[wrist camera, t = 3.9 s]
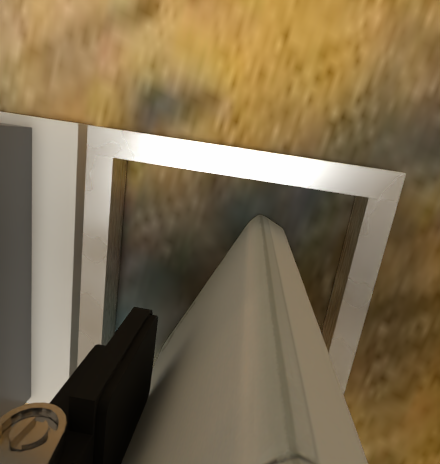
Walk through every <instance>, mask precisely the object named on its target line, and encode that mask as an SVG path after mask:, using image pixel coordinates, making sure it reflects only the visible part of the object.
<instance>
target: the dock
mask: <svg viewBox="0 0 440 464" xmlns="http://www.w3.org/2000/svg"><path fill="white" fill-rule="evenodd" d="M87 130H88V124H81V123H75V122H68V121H61V120H55V119H48V118H42V117H35V116H28V115H22V114H15V113H8V112H2V111H0V418H1V417H2V416H3V415H5V414H6V413H8V412H9V411H11V410H12V409H15V408H17V407H20V406H22V405H24V404H25V403H50V402H51V400H52V399H53V398H54V397H55V395H56V394H57V393H58V392H59V390H60V389H61V388H62V386H63V385H64V384H65V383H66V381H67V380H68V379H69V377H70V376H71V375H72V374H73V372H74V371H75V370H76V369H77V360H78V337H79V314H80V291H81V268H82V245H83V222H84V199H85V176H86V153H87Z"/></svg>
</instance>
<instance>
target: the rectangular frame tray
mask: <svg viewBox="0 0 440 464" xmlns="http://www.w3.org/2000/svg"><path fill="white" fill-rule="evenodd" d="M127 160H131V161H137V162H144V163H150V164H157V165H163V166H170V167H176V168H182V169H189V170H195V171H202V172H208V173H214V174H221V175H227V176H234V177H240V178H247V179H253V180H259V181H266V182H272V183H279V184H285V185H291V186H298V187H304V188H311V189H317V190H324V191H330V192H336V193H343V194H349V195H356V196H355V200H354V204H353V208H352V212H351V216H350V220H349V224H348V228H347V232H346V236H345V241H344V245H343V249H342V253H341V257H340V261H339V265H338V269H337V273H336V277H335V281H334V285H333V289H332V293H331V297H330V301H329V305H328V309H327V313H326V317H325V321H324V325H323V329H322V333H321V334H322V336H323V339H324V342H325V345H326V347H327V350H328V353H329V356H330V359H331V362H332V364H333V367H334V370H335V373H336V376H337V378H338V381H339V384H340V387H341V389H342V392H343V395H344V392H345V388H346V385H347V381H348V378H349V374H350V371H351V367H352V364H353V360H354V357H355V353H356V349H357V346H358V342H359V339H360V335H361V332H362V328H363V325H364V321H365V318H366V314H367V310H368V307H369V303H370V300H371V296H372V293H373V289H374V286H375V282H376V279H377V275H378V271H379V268H380V264H381V261H382V257H383V254H384V250H385V247H386V243H387V240H388V236H389V232H390V229H391V225H392V222H393V218H394V215H395V211H396V208H397V204H398V201H399V197H400V193H401V190H402V186H403V183H404V179H405V176H406V173H402V172H397V171H392V170H386V169H379V168H373V167H366V166H359V165H353V164H346V163H340V162H333V161H326V160H320V159H313V158H306V157H300V156H293V155H287V154H280V153H273V152H267V151H260V150H253V149H247V148H240V147H234V146H227V145H220V144H214V143H207V142H200V141H194V140H187V139H181V138H174V137H167V136H161V135H154V134H147V133H141V132H134V131H128V130H121V129H114V128H108V127H100V126H91V125H88V130H87V153H86V176H85V199H84V222H83V245H82V268H81V291H80V314H79V337H78V360H77V367H78V366H79V365H80V363H81V362H82V361H83V360H84V358H85V357H86V356H87V355H88V353H89V352H90V351H91V349H92V348H93V347H94V346H95V345H97V344H100V345H107V343H108V342H109V341H110V339H111V338H112V337H113V335H114V334H115V320H116V307H117V293H118V280H119V266H120V253H121V239H122V226H123V212H124V199H125V185H126V171H127Z"/></svg>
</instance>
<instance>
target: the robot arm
mask: <svg viewBox="0 0 440 464" xmlns="http://www.w3.org/2000/svg"><path fill="white" fill-rule="evenodd" d="M152 314H153V313H152V310H149V309H143V308H138V307H134V308H133V309H132V310H131V312H130V313H129V315H128V316H127V317H126V319H125V320H124V321H123V323H122V324H121V326H120V327H119V328H118V330H117V331H116V332H115V334H114V335H113V337H112V338H111V339H110V341H109V342H108V343H107V345H100V344H97V345H95V346H94V347H93V348H92V349H91V351H90V352H89V353H88V355H87V356H86V357H85V358H84V360H83V361H82V362H81V363H80V365H79V366H78V367H77V369H76V370H75V371H74V372H73V374H72V375H71V376H70V377H69V379H68V380H67V381H66V383H65V384H64V385H63V386H62V388H61V389H60V390H59V392H58V393H57V394H56V395H55V397H54V398H53V399H52V400H51V402H50V403H30V404H26V405H22V406H20V407H17V408H15V409H12V410H11V411H9V412H8V413H6V414H5V415H3V416H2V417H1V418H0V464H121V463H122V461H123V458H124V456H125V453H126V451H127V448H128V446H129V444H130V441H131V439H132V436H133V434H134V431H135V429H136V426H137V424H138V422H139V419H140V417H141V414H142V412H143V409H144V407H145V405H146V402H147V399H148V396H149V392H150V386H151V377H152V368H153V358H154V349H155V340H156V331H157V322H158V316H156V315H152Z"/></svg>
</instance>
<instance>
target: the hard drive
mask: <svg viewBox="0 0 440 464" xmlns="http://www.w3.org/2000/svg"><path fill="white" fill-rule="evenodd" d="M121 464H368V462H367V459H366V456H365V453H364V451H363V448H362V445H361V442H360V439H359V437H358V434H357V431H356V428H355V425H354V423H353V420H352V417H351V414H350V411H349V409H348V406H347V403H346V400H345V398H344V395H343V392H342V389H341V387H340V384H339V381H338V378H337V376H336V373H335V370H334V367H333V364H332V362H331V359H330V356H329V353H328V350H327V347H326V345H325V342H324V339H323V336H322V334H321V331H320V328H319V325H318V322H317V320H316V317H315V315H314V312H313V309H312V306H311V304H310V301H309V298H308V296H307V293H306V290H305V287H304V284H303V281H302V279H301V276H300V273H299V270H298V268H297V265H296V263H295V260H294V257H293V254H292V251H291V249H290V246H289V243H288V240H287V237H286V235H285V232H284V230H283V228H282V227H280V226H279V225H277V224H276V223H274V222H273V221H271V220H270V219H269V218H267V217H265V216H263V215H258V216H256V217H254V218H253V219H252V220H251V221H250V222H249V223H248V224H247V225H246V227H245V228H244V230H243V231H242V232H241V234H240V235H239V237H238V238H237V240H236V241H235V242H234V244H233V245H232V247H231V248H230V250H229V251H228V252H227V254H226V255H225V257H224V258H223V260H222V261H221V263H220V264H219V265H218V267H217V268H216V270H215V271H214V273H213V274H212V275H211V277H210V278H209V280H208V281H207V283H206V284H205V286H204V287H203V289H202V290H201V291H200V293H199V294H198V296H197V297H196V299H195V300H194V302H193V303H192V304H191V306H190V307H189V309H188V310H187V312H186V313H185V315H184V316H183V317H182V319H181V320H180V322H179V323H178V325H177V326H176V327H175V329H174V330H173V332H172V333H171V335H170V336H169V337H168V339H167V340H166V342H165V343H164V345H163V346H162V349H161V351H160V353H159V356H158V358H157V360H156V363H155V365H154V367H153V369H152V377H151V386H150V392H149V396H148V399H147V402H146V405H145V407H144V409H143V412H142V414H141V417H140V419H139V422H138V424H137V426H136V429H135V431H134V434H133V436H132V439H131V441H130V444H129V446H128V448H127V451H126V453H125V456H124V458H123V461H122V463H121Z"/></svg>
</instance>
